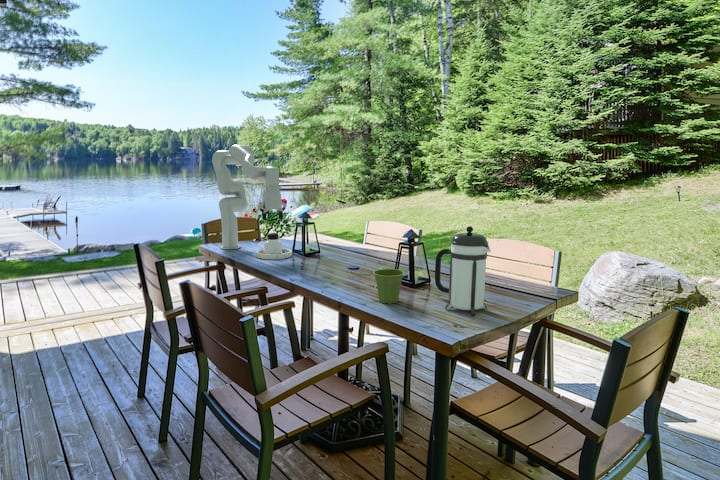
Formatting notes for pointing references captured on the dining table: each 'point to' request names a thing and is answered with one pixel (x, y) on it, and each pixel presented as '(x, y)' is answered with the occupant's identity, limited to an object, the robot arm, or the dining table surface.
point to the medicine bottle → (273, 244)
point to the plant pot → (388, 284)
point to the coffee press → (465, 271)
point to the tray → (285, 254)
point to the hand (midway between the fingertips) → (272, 219)
